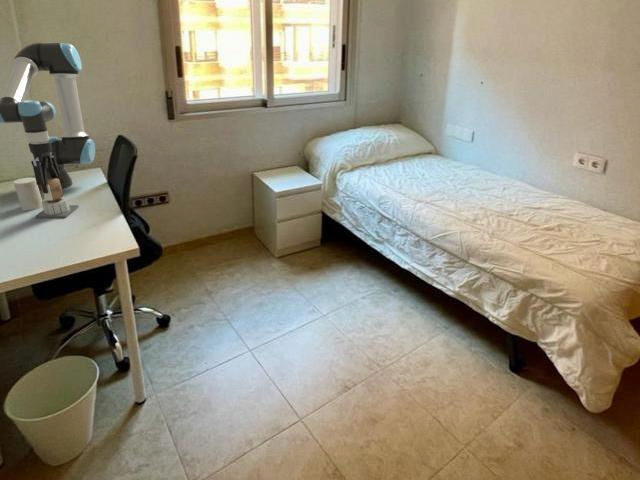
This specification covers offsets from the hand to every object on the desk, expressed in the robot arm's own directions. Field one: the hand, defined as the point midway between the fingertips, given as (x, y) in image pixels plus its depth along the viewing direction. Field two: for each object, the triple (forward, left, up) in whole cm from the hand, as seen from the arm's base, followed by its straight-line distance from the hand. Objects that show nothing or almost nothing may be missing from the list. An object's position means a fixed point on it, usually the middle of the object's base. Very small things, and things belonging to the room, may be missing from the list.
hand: (53, 196), depth 182 cm
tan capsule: (0, 0, -4) cm, 4 cm away
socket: (0, 0, -7) cm, 7 cm away
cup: (-7, -14, -7) cm, 17 cm away
